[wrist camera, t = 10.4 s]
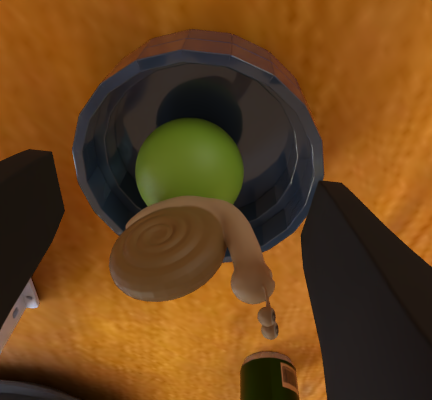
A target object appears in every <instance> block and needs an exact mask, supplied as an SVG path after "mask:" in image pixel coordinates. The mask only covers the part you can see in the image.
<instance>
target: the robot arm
mask: <svg viewBox="0 0 432 400" xmlns="http://www.w3.org/2000/svg"><path fill="white" fill-rule="evenodd" d="M64 212H65V209H64V205H63V200H62V196H61V191H60V187H59V182H58V177H57V173H56V168H55V164H54V159H53V155H52V152H50V151H41V150H32V149H28V150H26V151H23V152H20V153H18V154H15V155H13V156H11V157H9V158H6V159H4V160H2V161H0V353H1V352H2V350H3V348H4V346H5V345H6V343H7V341H8V339H9V337H10V336H11V334H12V332H13V330H14V328H15V327H16V325H17V323H18V321H19V320H20V318H21V316H22V314H23V312H24V311H25V309H26V307H27V308H37V307H38V306H39V304H40V302H39V299H38V296H37V293H36V290H35V288H34V285H33V282H32V279H31V276H32V275H33V273H34V272H35V270H36V268H37V267H38V265H39V263H40V262H41V260H42V258H43V256H44V255H45V253H46V251H47V250H48V248H49V246H50V244H51V243H52V241H53V239H54V236H55V234H56V232H57V229H58V227H59V224H60V222H61V219H62V217H63V214H64ZM301 247H302V259H303V269H304V274H305V278H306V283H307V288H308V292H309V297H310V301H311V306H312V310H313V315H314V319H315V324H316V328H317V333H318V337H319V342H320V347H321V353H322V359H323V367H324V375H325V384H326V393H327V400H432V267H431V266H430V265H429V264H427V263H426V262H425V261H424V260H423V259H422V258H420V257H419V256H418V255H417V254H416V253H415V252H414V251H412V250H411V249H410V248H409V247H408V246H407V245H406V244H404V243H403V242H402V241H401V240H400V239H399V238H398V237H397V236H396V235H395V234H394V233H393V232H392V231H390V230H389V229H388V228H387V227H386V226H385V225H384V224H383V223H382V222H381V221H380V220H379V219H378V218H377V217H376V216H375V215H374V214H373V213H372V212H371V211H370V210H369V209H368V208H367V207H366V206H365V205H364V204H363V203H362V202H361V201H360V200H359V199H358V198H357V197H356V196H355V195H354V194H353V193H352V192H351V191H350V190H349V189H348V188H347V187H346V186H344V185H343V184H342V183H339V182H329V181H320V180H319V181H318V184H317V188H316V191H315V194H314V197H313V200H312V203H311V206H310V209H309V212H308V215H307V218H306V221H305V224H304V227H303V230H302V233H301Z"/></svg>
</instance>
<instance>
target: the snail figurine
mask: <svg viewBox="0 0 432 400" xmlns="http://www.w3.org/2000/svg"><path fill="white" fill-rule="evenodd" d="M243 176H244V168H243V161H242V157H241V154H240V151H239V149H238V147H237V145H236V143H235V142H234V140H233V139H232V138H231V137H230V135H229V134H228V133H227V132H226V131H224V130H223V129H222V128H220V127H219V126H217V125H216V124H214V123H212V122H209V121H207V120H204V119H199V118H179V119H175V120H172V121H169V122H167V123H165V124H163V125H161V126H159V127H158V128H157V129H155V130H154V131H153V132H152V133H151V134H150V135H149V136H148V137H147V138H146V140H145V141H144V143H143V144H142V146H141V148H140V150H139V153H138V156H137V160H136V166H135V177H136V183H137V187H138V190H139V193H140V195H141V197H142V199H143V200H144V202H145V203H146V205H147V206H148V207H146V208H144V209H143V210H141V211H140V212H138V213H137V214H136V215H135V216H133V217H132V218H131V219H130V220H129V221H128V222H127V224H126V230H125V231H124V232H123V233H122V234H121V235H120V236H119V238H118V239H117V240H116V242H115V244H114V246H113V248H112V251H111V254H110V260H109V268H110V273H111V276H112V279H113V281H114V282H115V284H116V285H117V287H118V288H120V289H121V290H122V291H123V292H124V293H125V294H127V295H129V296H131V297H133V298H135V299H139V300H143V301H152V302H161V301H168V300H173V299H176V298H180V297H183V296H185V295H187V294H189V293H191V292H193V291H195V290H197V289H198V288H200V287H201V286H203V285H204V284H205V283H206V282H207V281H208V280H209V279H210V278H212V277H213V275H214V274H215V273H216V271H217V270H218V269H219V267H220V266H221V264H222V261H223V259H224V257H225V253H226V248H227V247H228V250H229V252H230V255H231V258H232V262H233V265H234V272H233V275H232V278H231V287H232V290H233V292H234V294H235V295H236V297H237V298H238V299H240V300H241V301H243V302H245V303H248V304H258V303H262V302H264V301H266V307H263V308H262V309H260V311H259V312H258V320H259V322H260V323H261V324H262V328H261V331H262V334H263V336H264V337H265V338H267V339H270V340H272V339H275V338H276V337H277V336H278V325H277V323H276V322H275V318H276V317H275V312H274V310H273V309H272V308H271V307H270V303H269V297H270V296H271V295H272V293H273V291H274V288H275V282H274V281H273V279H272V272H271V270H270V269H269V267H268V266H267V265H266V264H265V261H264V259H263V254H262V251H261V248H260V245H259V243H258V241H257V238H256V236H255V234H254V231H253V229H252V227H251V225H250V223H249V222H248V220H247V219H246V217H245V216H244V215H243V214H242V212H241V211H240V210H239V209H238V208H236V207H235V206H234V205H233V204H234V202H235V201H236V199H237V197H238V195H239V193H240V190H241V187H242V183H243Z"/></svg>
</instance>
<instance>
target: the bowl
mask: <svg viewBox="0 0 432 400" xmlns="http://www.w3.org/2000/svg"><path fill="white" fill-rule="evenodd" d="M179 118H199V119H204V120H207V121H209V122H212V123H214V124H216V125H217V126H219V127H220V128H222V129H223V130H224V131H226V132H227V133H228V134H229V135H230V137H231V138H232V139H233V140H234V142H235V143H236V145H237V147H238V149H239V151H240V154H241V157H242V161H243V168H244V176H243V183H242V187H241V190H240V193H239V195H238V197H237V199H236V201H235V202H234V204H233V205H234V206H235V207H236V208H238V209H239V210H240V211H241V212H242V214H243V215H244V216H245V217H246V219H247V220H248V222H249V223H250V225H251V227H252V229H253V231H254V234H255V236H256V238H257V241H258V243H259V245H260V248H261V251H262V252H265V251H267V250H269V249H271V248H272V247H274V246H275V245H277V244H278V243H280V242H281V241H282V240H284V239H285V238H287V237H288V236H290V235H291V234H292V233H294V232H295V231H296V229H297V228H298V227H299V226H300V224H301V223H302V222H303V220H304V219H305V218H306V217H307V215H308V212H309V209H310V206H311V203H312V200H313V197H314V194H315V191H316V188H317V184H318V181H319V180H320V181H323V178H324V162H323V143H322V139H321V136H320V134H319V131H318V128H317V126H316V123H315V121H314V118H313V115H312V113H311V110H310V108H309V106H308V103H307V101H306V99H305V97H304V95H303V93H302V90H301V88H300V86H299V84H298V82H297V80H296V78H295V77H294V76H293V75H292V74H291V73H290V72H289V71H288V70H287V69H286V68H285V67H284V66H283V65H282V64H281V63H280V62H279V61H278V60H277V59H276V58H275V57H274V56H273V55H272V54H271V53H270V52H268V51H267V50H266V49H263V48H261V47H259V46H257V45H255V44H253V43H251V42H249V41H247V40H245V39H243V38H240V37H238V36H236V35H234V34H233V35H232V34H231V33H223V32H214V31H205V30H195V29H192V30H191V29H189V30H185V31H181V32H177V33H173V34H168V35H164V36H160V37H156V38H153V39H151V40H149V41H148V42H146V43H145V44H143V45H142V46H140V47H139V48H138V49H136V50H135V51H133V52H132V53H130V54H129V55H127V56H126V57H124V58H123V59H122V60H121V61H120V62H119V63H118V64H117V65H116V66H115V68H114V69H113V70H112V71H111V72H110V73H109V74H108V75H107V77H106V78H105V79H104V80H103V81H102V82H101V83H100V84H99V86H98V87H97V89H96V90H95V92H94V93H93V95H92V96H91V98H90V99H89V101H88V102H87V104H86V105H85V107H84V108H83V109H82V111H81V112H80V114H79V117H78V122H77V127H76V132H75V137H74V142H73V147H72V153H73V158H74V164H75V169H76V175H77V180H78V184H79V186H80V187H81V189H82V191H83V193H84V195H85V196H86V198H87V200H88V202H89V204H90V205H91V207H92V209H93V211H94V212H95V213H96V214H97V215H98V216H99V217H100V218H101V219H102V220H103V221H104V222H105V223H106V224H107V225H108V226H109V227H110V228H111V229H112V230H113V231H114V232H115V233H116V234H117V235H119V236H120V235H121V234H122V233H123V232H124V231H125V230H126V224H127V222H128V221H129V220H130V219H131V218H132V217H133V216H135V215H136V214H137V213H138V212H140V211H141V210H143V209H144V208H146V207H148V206H147V205H146V203H145V202H144V200H143V199H142V197H141V195H140V193H139V190H138V187H137V183H136V177H135V166H136V160H137V156H138V153H139V150H140V148H141V146H142V144H143V143H144V141H145V140H146V138H147V137H148V136H149V135H150V134H151V133H152V132H153V131H154V130H155V129H157V128H158V127H159V126H161V125H163V124H165V123H167V122H169V121H172V120H175V119H179ZM224 262H232V258H231V255H230V252H229V250H228V247H227V248H226V253H225V257H224V259H223V261H222V263H224Z"/></svg>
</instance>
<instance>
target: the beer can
mask: <svg viewBox="0 0 432 400" xmlns="http://www.w3.org/2000/svg"><path fill="white" fill-rule="evenodd" d="M240 400H299V392H298V384H297V377H296V369H295V367H294V365H293V363H292V362H291V360H290V359H289V358H288V357H287V356H285V355H283V354H280V353H277V352H259V353H255V354H252V355H250V356H248V357H247V358H246V359H245V361H244V363H243V365H242V368H241V371H240Z"/></svg>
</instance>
